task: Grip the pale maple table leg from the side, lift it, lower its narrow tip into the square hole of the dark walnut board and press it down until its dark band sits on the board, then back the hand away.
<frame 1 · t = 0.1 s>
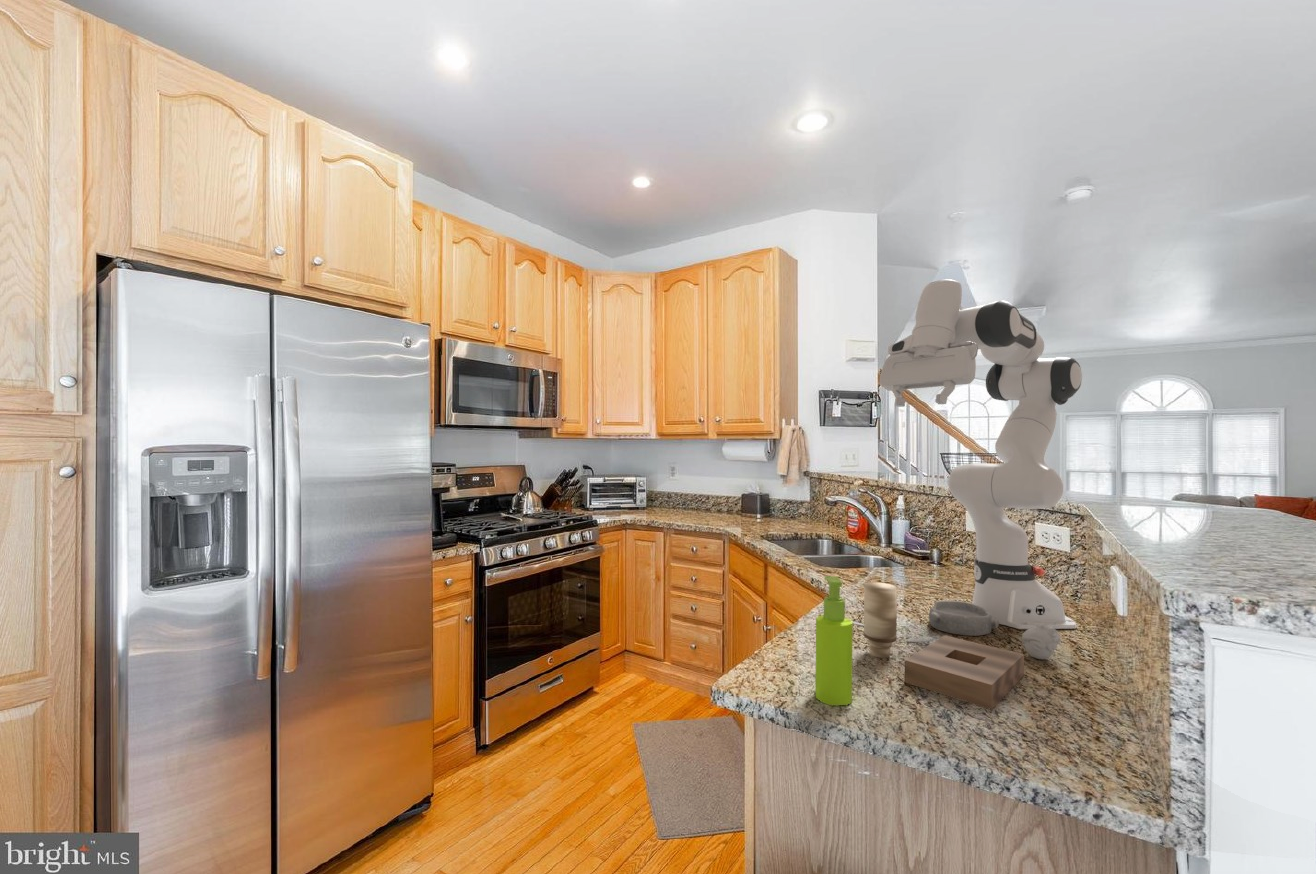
hand: (919, 404, 120), 52 cm above the counter, tool tilted 20°, fingers open, 8 cm apart
soap dispenser: (832, 697, 94), on the counter
frog figurine: (1040, 659, 112), on the counter
maple leg: (879, 654, 113), on the counter
fork: (879, 633, 128), on the counter
walnut board: (965, 679, 102), on the counter
dish: (960, 629, 131), on the counter
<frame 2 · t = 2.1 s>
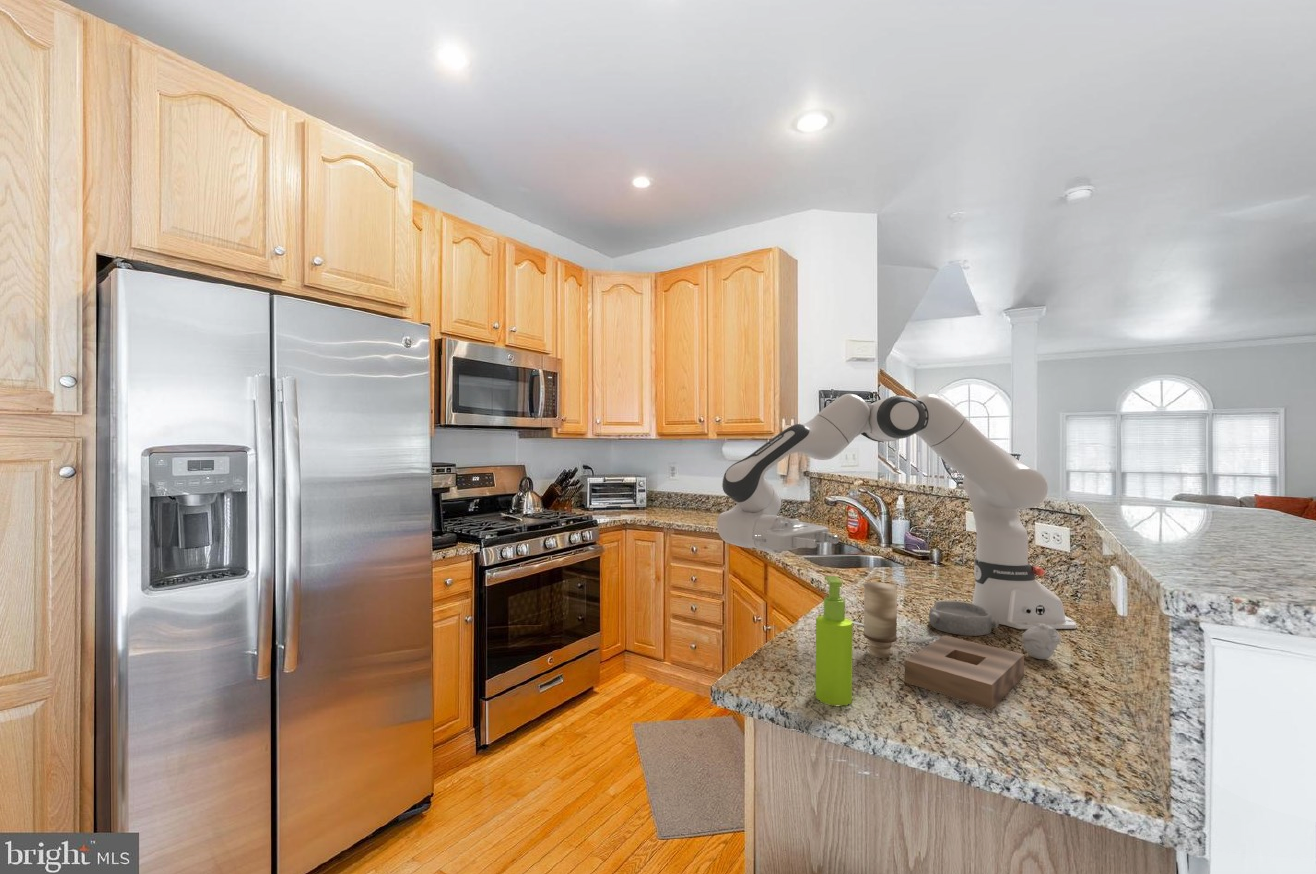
hand: (826, 541, 122), 21 cm above the counter, tool horizontal, fingers open, 8 cm apart
nothing on the counter moved.
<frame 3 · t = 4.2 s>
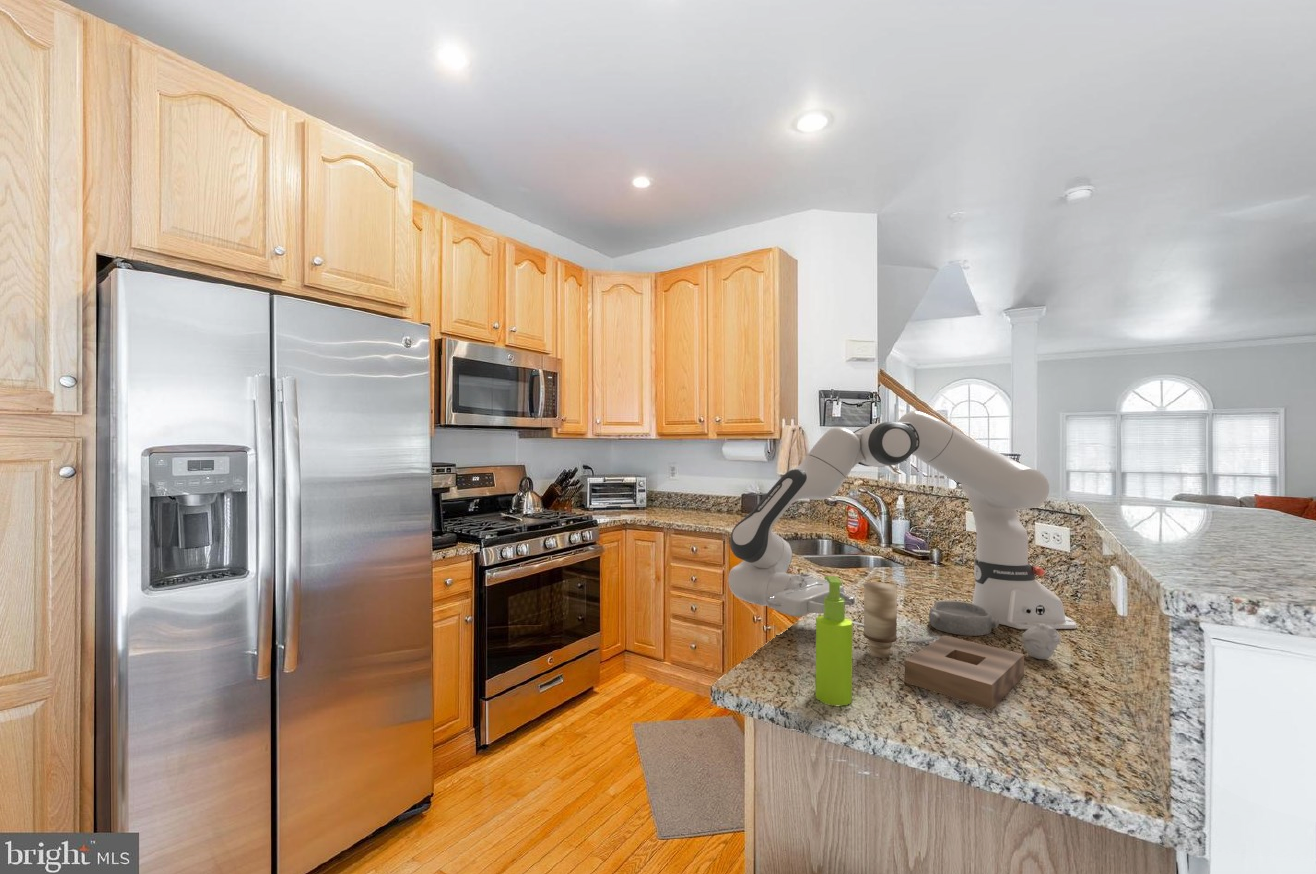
hand: (842, 605, 120), 8 cm above the counter, tool horizontal, fingers open, 8 cm apart
nothing on the counter moved.
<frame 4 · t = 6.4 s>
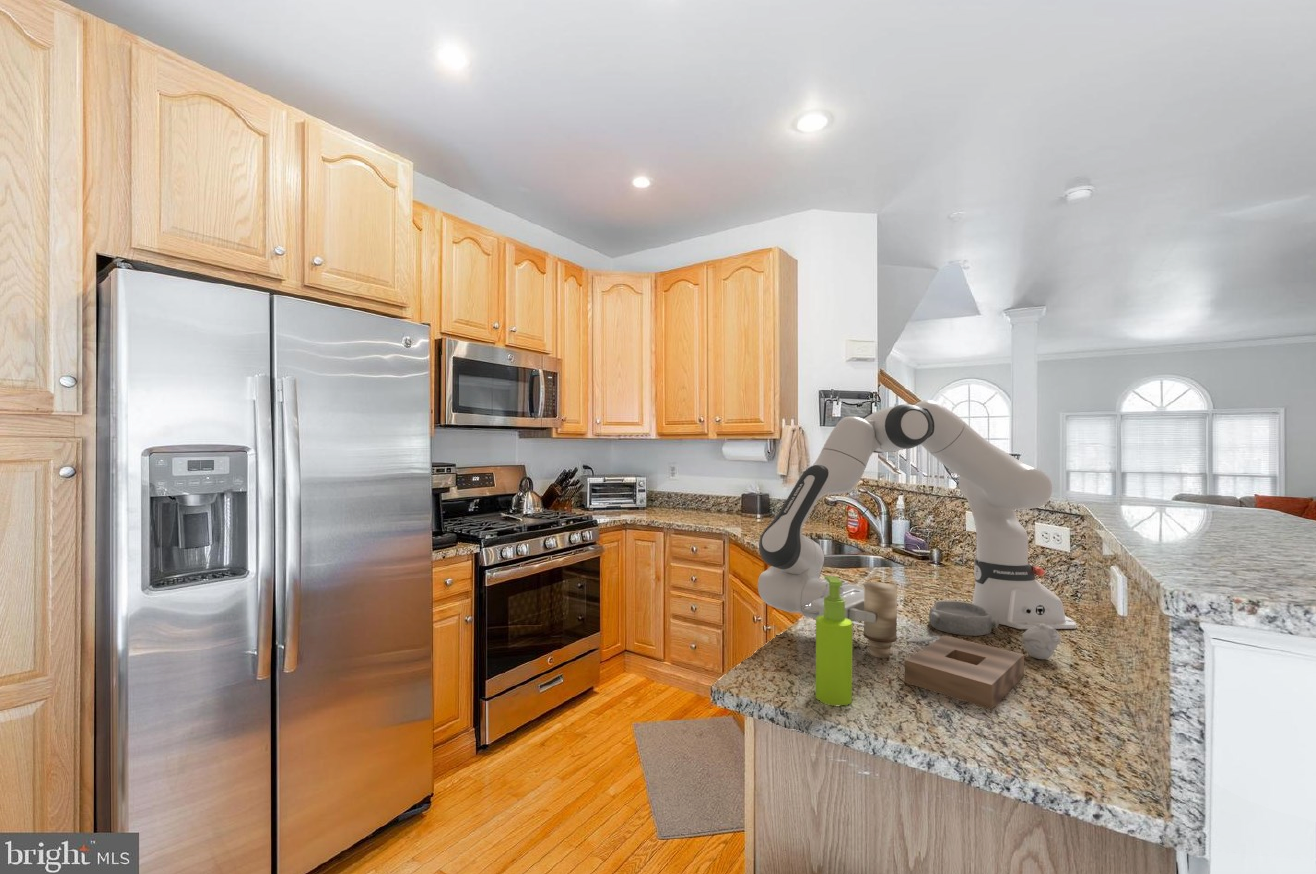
hand: (884, 614, 113), 8 cm above the counter, tool horizontal, fingers closed on maple leg, 6 cm apart
maple leg: (879, 654, 113), on the counter, touching gripper
everything else where it was.
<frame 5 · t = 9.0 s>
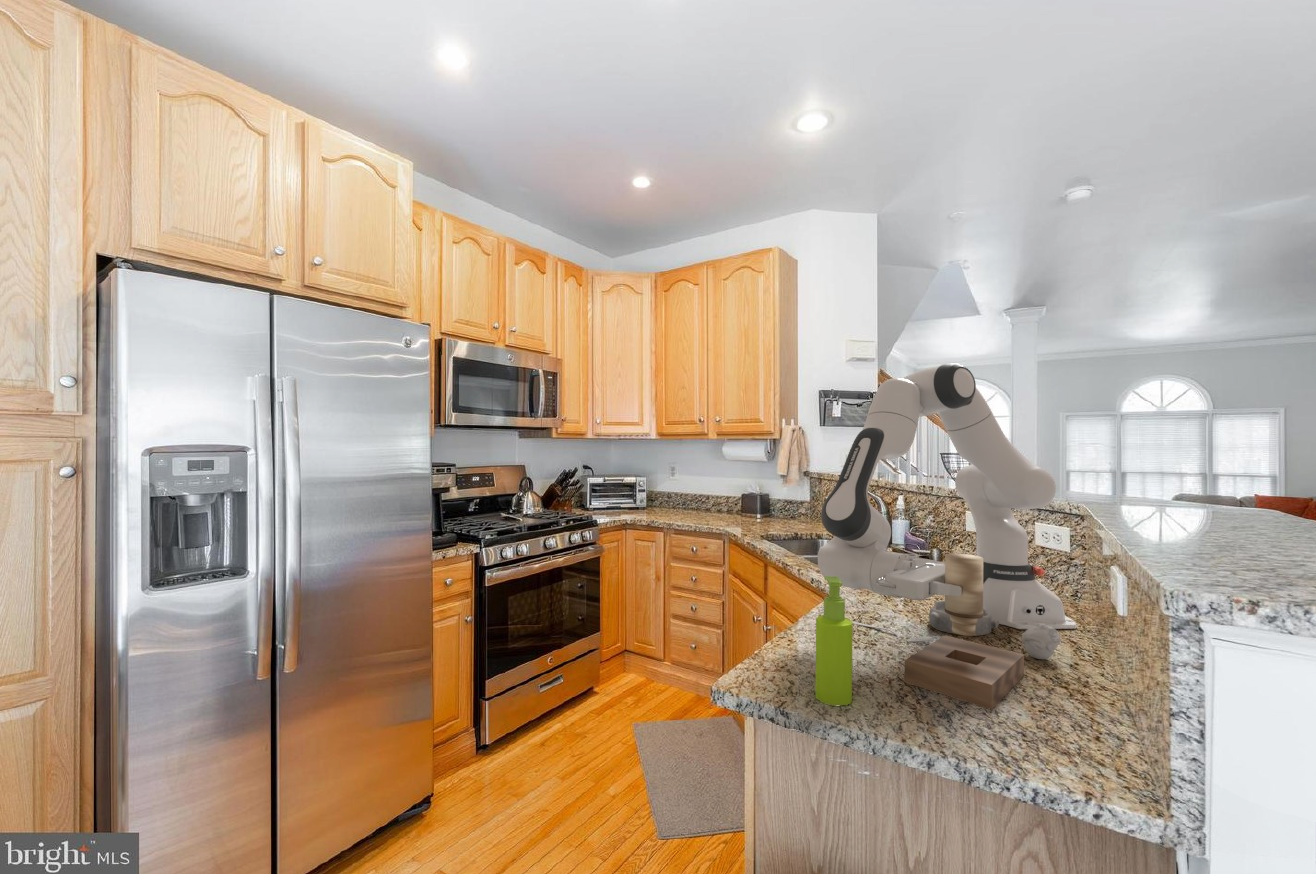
hand: (969, 587, 102), 17 cm above the counter, tool horizontal, fingers closed on maple leg, 6 cm apart
maple leg: (963, 632, 102), point 8 cm above the counter, touching gripper
everything else where it was.
when the fingers open (9 cm above the counter, at t = 11.7 s): maple leg stays where it is, resting on walnut board.
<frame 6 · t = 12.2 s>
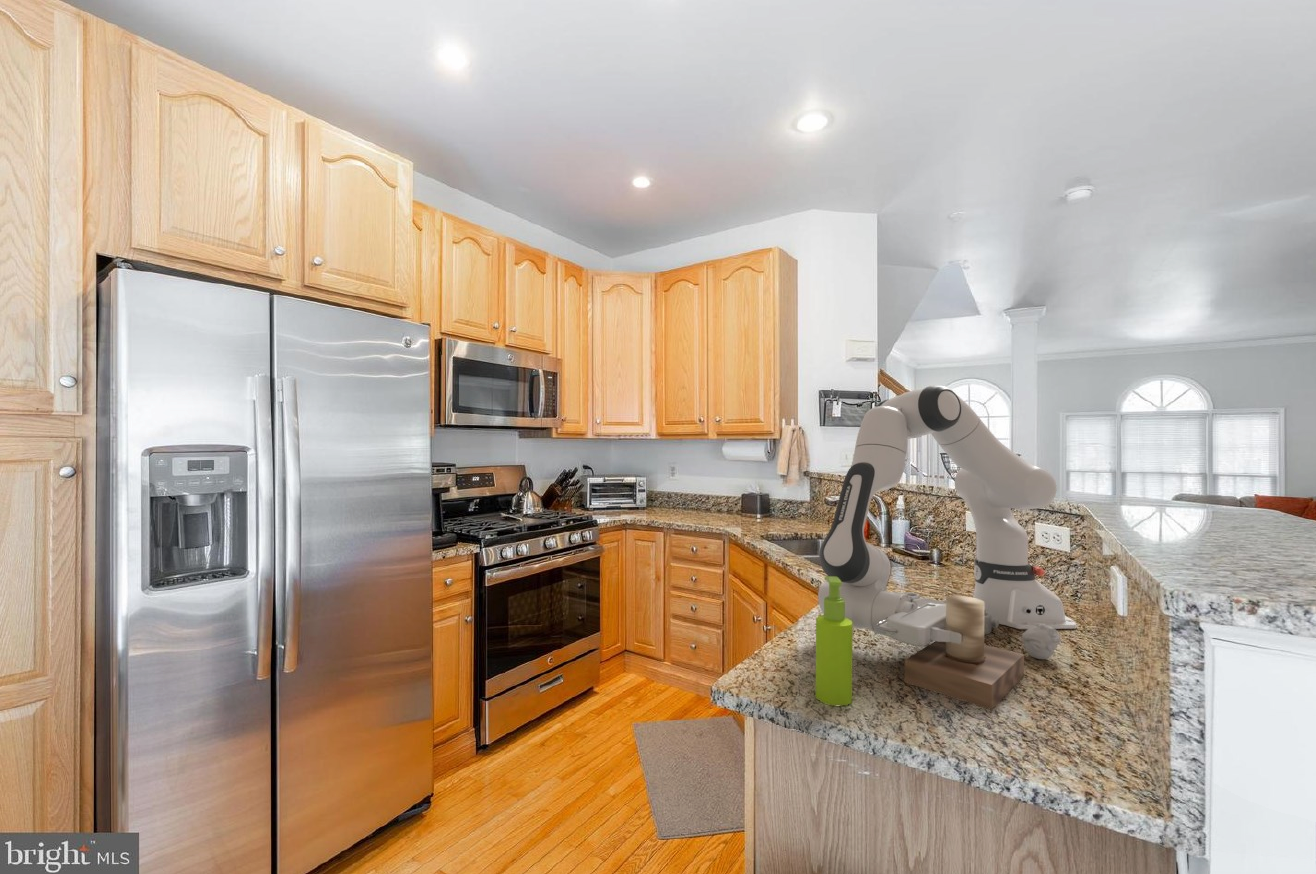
hand: (970, 632, 101), 9 cm above the counter, tool horizontal, fingers open, 8 cm apart
maple leg: (964, 676, 102), resting on walnut board
everything else where it was.
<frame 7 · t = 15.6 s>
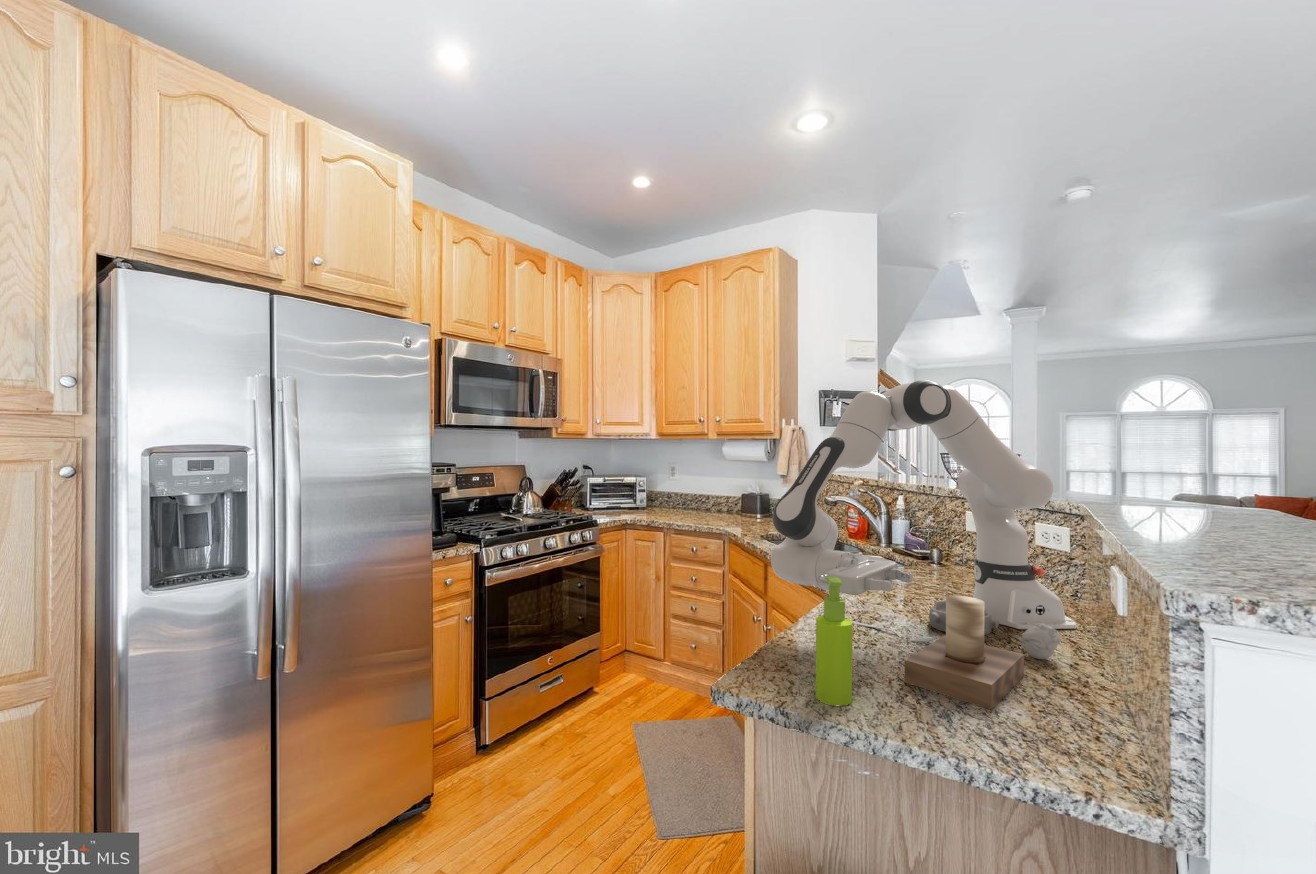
hand: (901, 582, 111), 16 cm above the counter, tool horizontal, fingers open, 8 cm apart
nothing on the counter moved.
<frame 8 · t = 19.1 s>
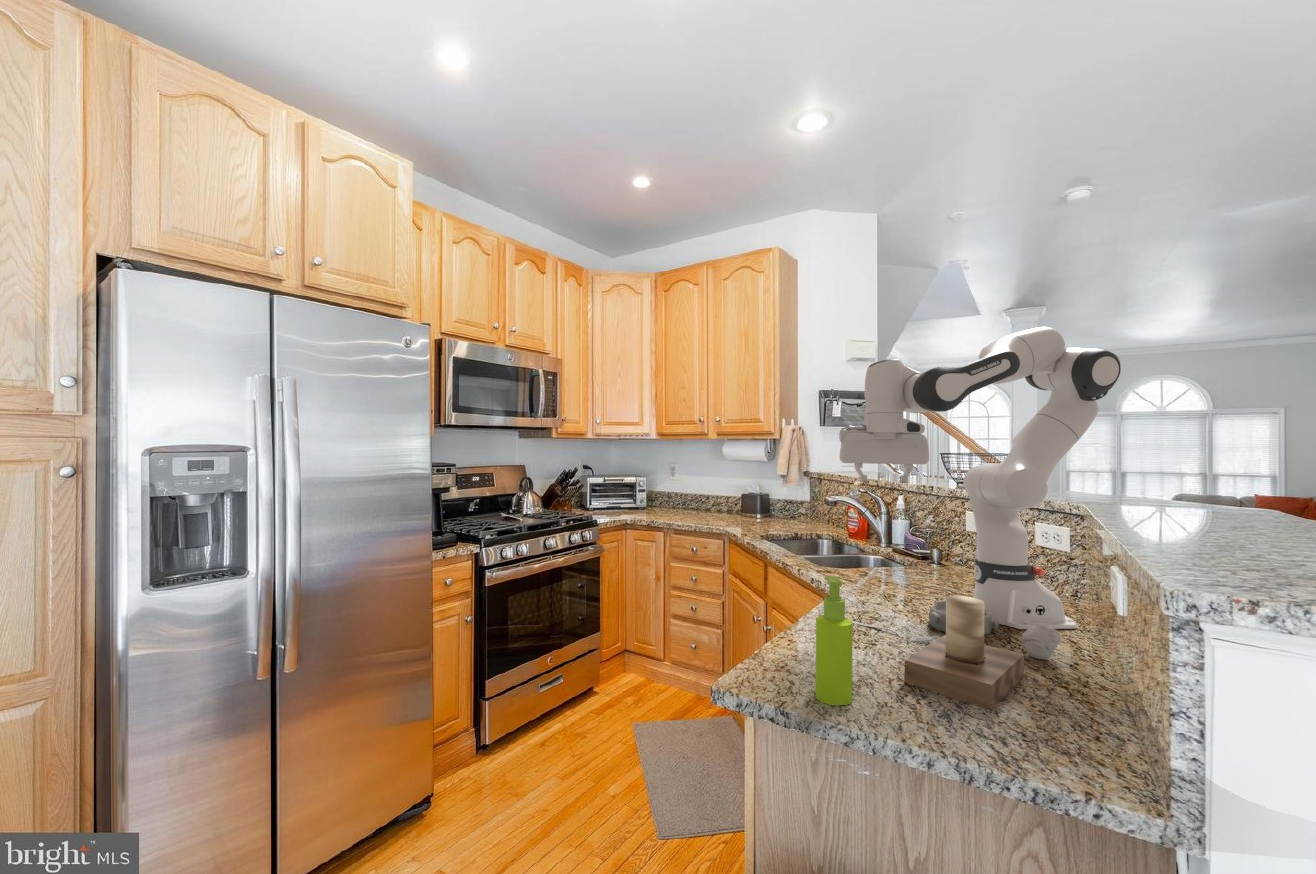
hand: (883, 482, 134), 34 cm above the counter, tool pointing down, fingers open, 8 cm apart
nothing on the counter moved.
at the end: maple leg 0.1 cm off-centre on the walnut board, point 0.5 cm above the walnut board's base; maple leg tilted 0°; the gripper is holding nothing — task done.
